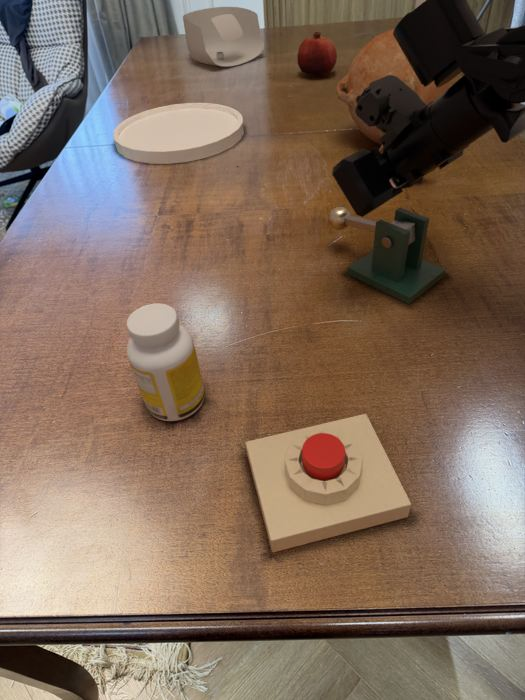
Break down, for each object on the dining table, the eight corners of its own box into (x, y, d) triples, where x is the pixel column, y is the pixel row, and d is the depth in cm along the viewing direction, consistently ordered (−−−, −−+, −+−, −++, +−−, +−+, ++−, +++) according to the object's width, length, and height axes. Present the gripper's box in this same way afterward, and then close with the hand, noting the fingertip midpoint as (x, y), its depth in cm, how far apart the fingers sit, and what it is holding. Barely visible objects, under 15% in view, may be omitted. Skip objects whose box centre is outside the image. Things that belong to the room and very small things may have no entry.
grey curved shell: (228, 47, 163) (224, 4, 155) (266, 57, 151) (264, 10, 143) (176, 62, 154) (169, 17, 146) (213, 73, 143) (206, 24, 135)
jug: (465, 56, 98) (505, 133, 79) (395, 134, 110) (415, 217, 91) (389, -11, 90) (412, 57, 71) (323, 82, 102) (328, 160, 83)
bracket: (347, 274, 69) (350, 219, 63) (383, 249, 73) (389, 196, 67) (408, 304, 63) (418, 248, 58) (444, 276, 67) (456, 220, 61)
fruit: (291, 74, 137) (289, 32, 130) (322, 67, 139) (323, 25, 133) (309, 84, 130) (309, 39, 123) (343, 76, 132) (345, 32, 125)
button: (297, 450, 44) (296, 438, 43) (336, 440, 45) (336, 428, 44) (309, 484, 42) (309, 473, 41) (350, 474, 42) (351, 462, 41)
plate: (214, 168, 97) (212, 156, 95) (90, 158, 104) (87, 146, 103) (261, 116, 115) (260, 105, 114) (153, 111, 123) (151, 100, 121)
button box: (247, 455, 49) (243, 429, 46) (364, 427, 50) (367, 401, 47) (272, 553, 42) (269, 530, 39) (408, 517, 43) (414, 492, 40)
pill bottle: (214, 383, 56) (197, 301, 48) (193, 429, 51) (170, 346, 43) (160, 374, 57) (135, 293, 49) (135, 418, 53) (104, 337, 45)
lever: (324, 230, 71) (322, 209, 69) (339, 222, 73) (338, 200, 71) (402, 252, 63) (402, 228, 61) (417, 241, 64) (418, 218, 62)
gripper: (460, 33, 55) (371, 117, 69) (350, 78, 46) (274, 164, 60) (510, 122, 56) (413, 188, 70) (411, 182, 47) (322, 244, 61)
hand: (358, 193), depth 65 cm, fingers closed
